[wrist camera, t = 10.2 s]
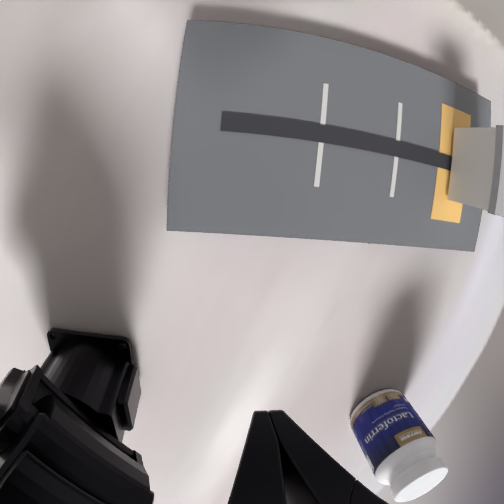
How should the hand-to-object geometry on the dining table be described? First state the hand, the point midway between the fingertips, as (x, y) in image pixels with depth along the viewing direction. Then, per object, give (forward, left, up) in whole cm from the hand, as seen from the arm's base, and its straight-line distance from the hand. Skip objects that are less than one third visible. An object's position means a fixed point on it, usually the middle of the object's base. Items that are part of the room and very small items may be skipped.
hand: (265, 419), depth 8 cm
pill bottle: (+14, -13, -12) cm, 23 cm away
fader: (+15, +9, -10) cm, 20 cm away
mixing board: (+7, +9, -12) cm, 17 cm away
